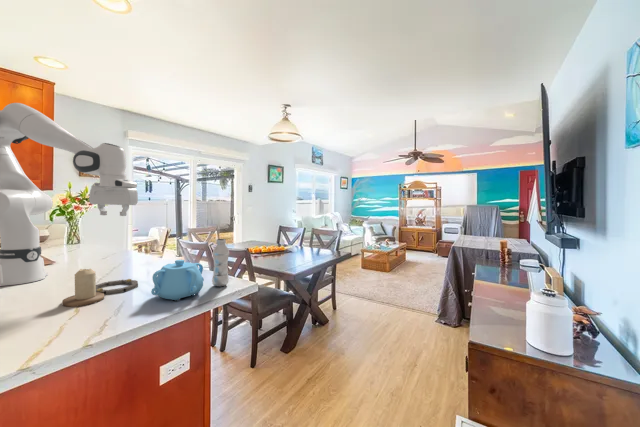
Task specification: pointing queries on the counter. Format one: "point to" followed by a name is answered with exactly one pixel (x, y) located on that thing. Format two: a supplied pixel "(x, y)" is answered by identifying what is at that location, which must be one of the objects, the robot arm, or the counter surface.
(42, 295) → the counter surface
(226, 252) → the plastic bottle
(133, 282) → the collar
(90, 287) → the candle
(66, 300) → the coaster
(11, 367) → the counter surface
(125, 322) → the counter surface
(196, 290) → the decorative pot
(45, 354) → the counter surface
